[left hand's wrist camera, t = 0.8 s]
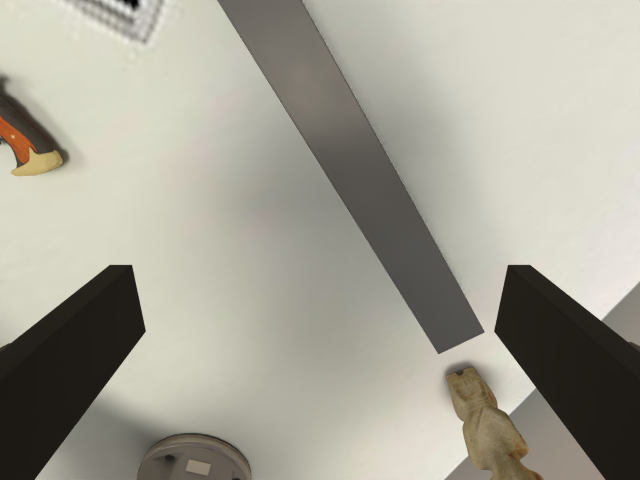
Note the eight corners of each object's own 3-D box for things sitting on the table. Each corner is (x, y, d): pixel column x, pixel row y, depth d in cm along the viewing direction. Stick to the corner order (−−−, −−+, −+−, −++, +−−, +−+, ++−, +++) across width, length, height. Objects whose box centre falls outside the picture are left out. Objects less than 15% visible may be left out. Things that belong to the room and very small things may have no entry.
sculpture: (449, 411, 47) (503, 543, 33) (434, 370, 45) (486, 493, 31) (493, 398, 46) (568, 528, 32) (481, 355, 44) (556, 476, 30)
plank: (456, 291, 41) (485, 332, 34) (418, 310, 42) (438, 354, 35) (-28, -575, 20) (-216, -936, 13) (-81, -500, 21) (-282, -799, 14)
